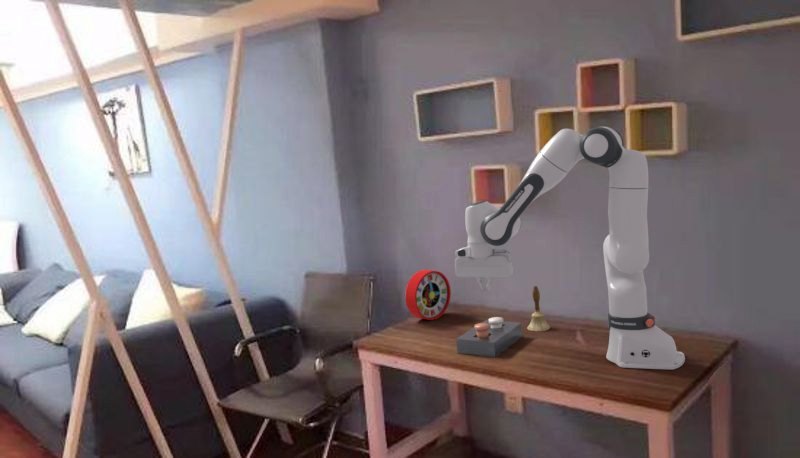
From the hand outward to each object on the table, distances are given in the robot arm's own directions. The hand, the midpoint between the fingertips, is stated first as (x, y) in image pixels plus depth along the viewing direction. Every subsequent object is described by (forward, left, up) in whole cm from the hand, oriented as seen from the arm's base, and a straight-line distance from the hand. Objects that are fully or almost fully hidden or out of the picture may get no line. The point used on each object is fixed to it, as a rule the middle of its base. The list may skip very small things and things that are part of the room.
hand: (485, 289), depth 217 cm
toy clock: (+40, -27, -21) cm, 53 cm away
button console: (+2, -4, -21) cm, 21 cm away
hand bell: (-7, -26, -21) cm, 34 cm away
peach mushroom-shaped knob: (+2, +1, -18) cm, 18 cm away
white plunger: (+2, -10, -19) cm, 21 cm away
